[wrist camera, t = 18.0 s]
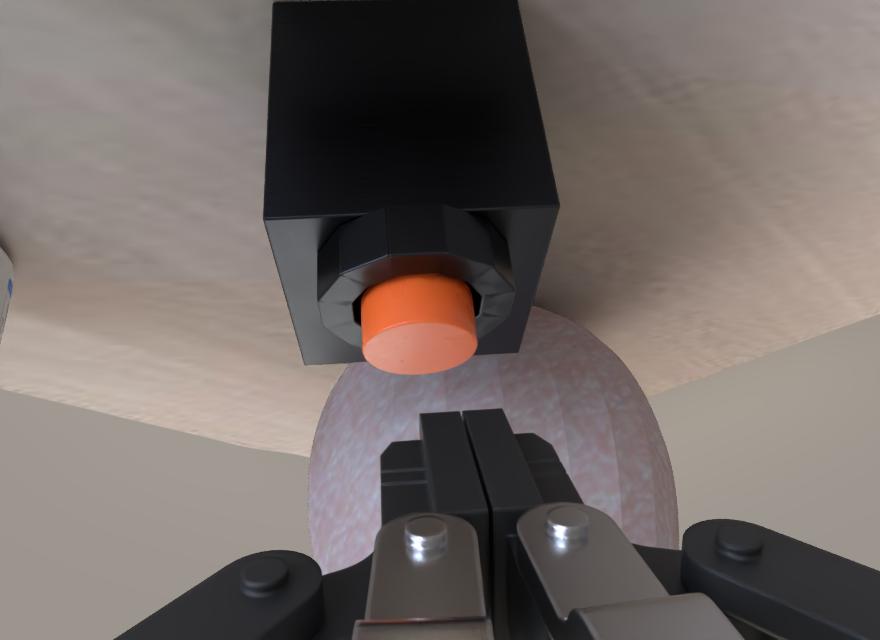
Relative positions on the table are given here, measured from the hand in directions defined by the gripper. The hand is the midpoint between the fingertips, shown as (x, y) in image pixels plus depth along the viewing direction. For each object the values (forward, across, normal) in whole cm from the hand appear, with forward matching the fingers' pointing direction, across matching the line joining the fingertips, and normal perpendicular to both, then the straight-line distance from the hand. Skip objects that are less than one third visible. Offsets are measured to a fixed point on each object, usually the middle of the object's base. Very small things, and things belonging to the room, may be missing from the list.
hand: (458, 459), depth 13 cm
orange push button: (+14, 0, 0) cm, 14 cm away
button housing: (+24, 0, -7) cm, 25 cm away
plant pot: (+41, -5, +9) cm, 42 cm away
